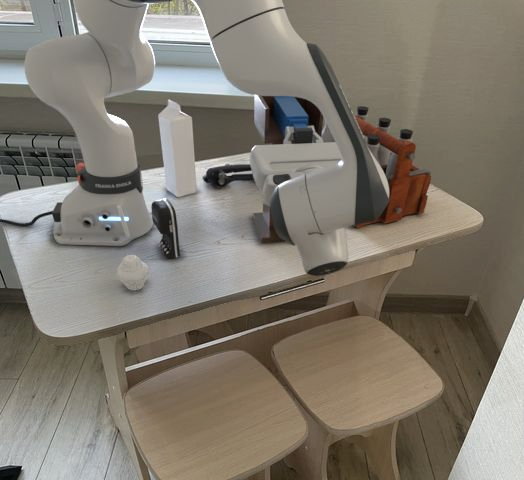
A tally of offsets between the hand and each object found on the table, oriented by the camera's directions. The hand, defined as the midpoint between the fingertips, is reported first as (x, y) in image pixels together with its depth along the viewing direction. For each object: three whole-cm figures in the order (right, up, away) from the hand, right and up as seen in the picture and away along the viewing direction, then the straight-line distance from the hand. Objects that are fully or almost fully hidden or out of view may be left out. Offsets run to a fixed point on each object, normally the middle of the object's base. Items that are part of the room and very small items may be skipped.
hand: (298, 128), depth 93 cm
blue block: (-1, +1, +5) cm, 5 cm away
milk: (-28, +1, +39) cm, 48 cm away
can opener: (-14, +4, +43) cm, 46 cm away
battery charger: (-28, -20, +16) cm, 38 cm away
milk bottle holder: (+18, -1, +39) cm, 43 cm away
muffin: (-33, -29, +7) cm, 44 cm away
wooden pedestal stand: (-2, -13, +25) cm, 28 cm away
